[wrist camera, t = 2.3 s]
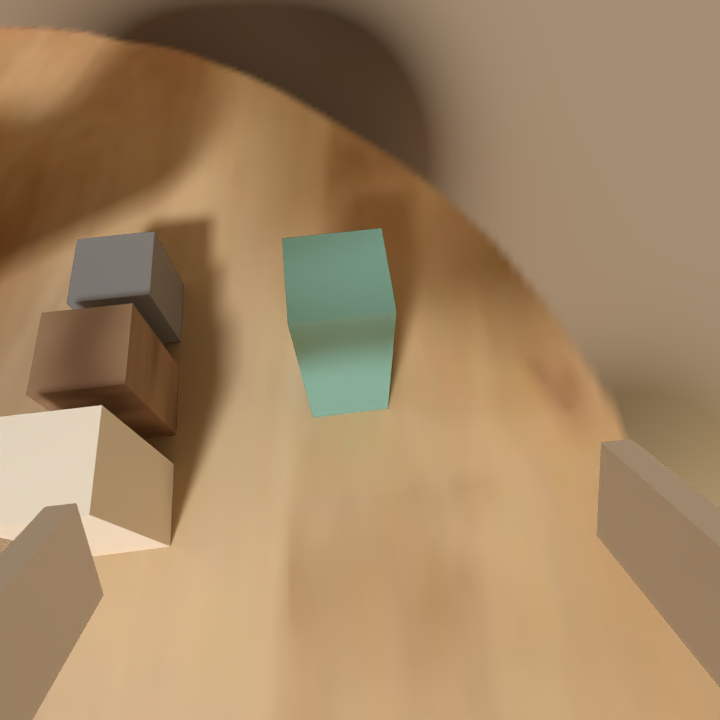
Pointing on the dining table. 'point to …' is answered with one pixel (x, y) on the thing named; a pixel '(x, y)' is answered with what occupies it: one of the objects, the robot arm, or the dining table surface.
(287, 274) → the teal block
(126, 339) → the walnut block
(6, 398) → the dining table surface
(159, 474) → the cream block
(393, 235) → the dining table surface
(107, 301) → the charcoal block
